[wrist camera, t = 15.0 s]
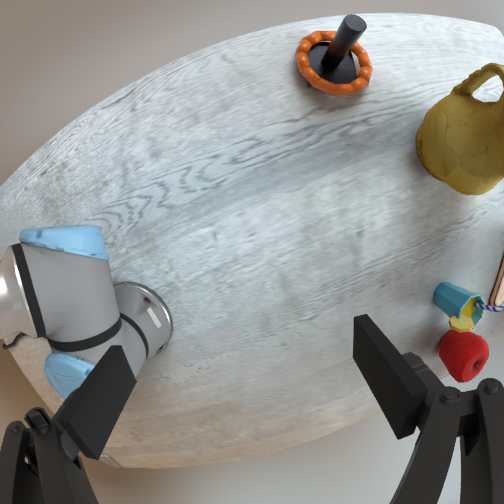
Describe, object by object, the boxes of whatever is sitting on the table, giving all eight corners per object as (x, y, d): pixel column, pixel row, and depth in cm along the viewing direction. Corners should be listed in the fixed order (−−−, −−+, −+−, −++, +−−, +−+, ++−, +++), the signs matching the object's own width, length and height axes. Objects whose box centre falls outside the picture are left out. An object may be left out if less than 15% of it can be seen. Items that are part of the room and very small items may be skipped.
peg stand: (306, 87, 39) (328, 47, 24) (298, 44, 37) (314, -5, 22) (357, 88, 39) (395, 54, 24) (347, 46, 37) (377, 4, 22)
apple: (442, 364, 52) (469, 395, 38) (424, 348, 50) (454, 382, 37) (469, 331, 50) (500, 357, 36) (454, 312, 48) (489, 339, 35)
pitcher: (397, 172, 42) (508, 162, 17) (412, 86, 38) (500, 40, 14) (459, 207, 43) (557, 221, 18) (470, 128, 40) (557, 112, 15)
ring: (304, 99, 39) (307, 95, 37) (288, 35, 36) (289, 29, 34) (376, 96, 38) (381, 93, 36) (357, 35, 35) (360, 30, 33)
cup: (465, 261, 46) (511, 283, 31) (468, 291, 47) (510, 317, 32) (417, 292, 47) (461, 324, 32) (423, 321, 49) (461, 358, 34)
